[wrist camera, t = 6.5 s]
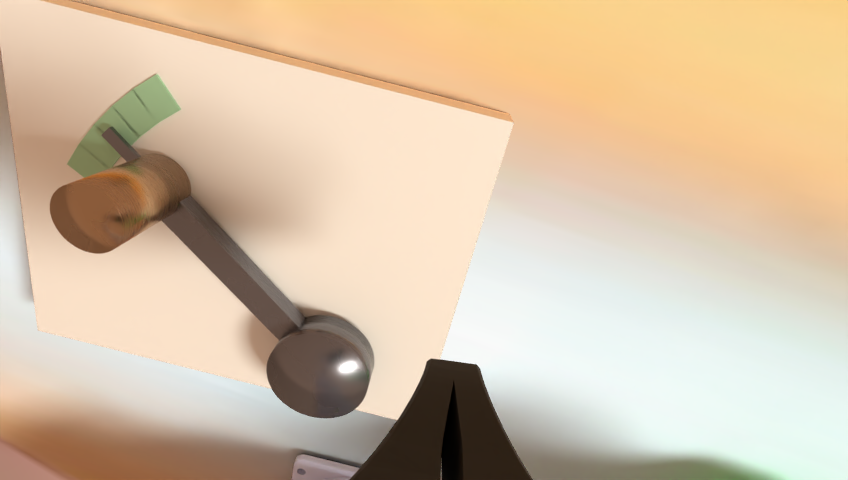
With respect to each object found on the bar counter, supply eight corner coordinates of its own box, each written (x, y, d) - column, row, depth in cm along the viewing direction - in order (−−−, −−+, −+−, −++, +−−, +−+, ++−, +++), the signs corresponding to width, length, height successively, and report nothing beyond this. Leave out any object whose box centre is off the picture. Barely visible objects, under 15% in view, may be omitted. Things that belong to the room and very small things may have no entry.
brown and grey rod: (394, 368, 21) (378, 437, 18) (323, 408, 23) (294, 479, 19) (146, 94, 17) (59, 110, 14) (78, 162, 19) (-18, 194, 15)
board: (422, 396, 25) (418, 427, 23) (70, 308, 25) (35, 331, 23) (509, 113, 19) (514, 123, 17) (39, -8, 18) (-11, -13, 16)
